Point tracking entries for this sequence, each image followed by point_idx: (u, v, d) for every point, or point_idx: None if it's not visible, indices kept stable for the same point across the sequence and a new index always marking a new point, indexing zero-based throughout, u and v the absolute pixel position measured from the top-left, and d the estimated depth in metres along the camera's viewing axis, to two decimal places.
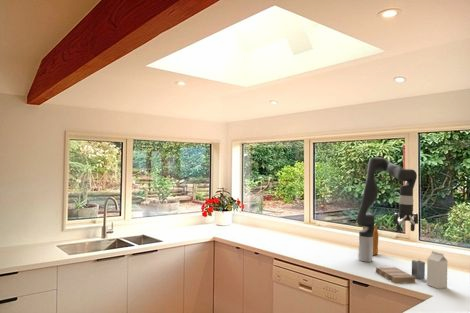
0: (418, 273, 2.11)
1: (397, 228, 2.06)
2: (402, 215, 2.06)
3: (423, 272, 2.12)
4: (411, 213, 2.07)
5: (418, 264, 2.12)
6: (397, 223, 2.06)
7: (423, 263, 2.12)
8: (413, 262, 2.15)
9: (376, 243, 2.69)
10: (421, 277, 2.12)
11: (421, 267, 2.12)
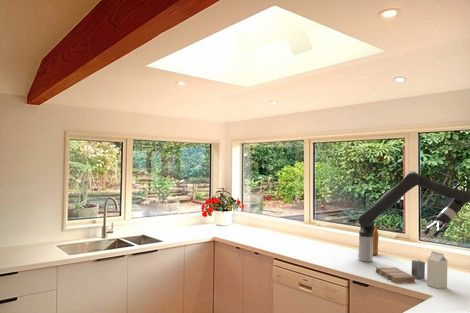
0: (418, 273, 2.11)
1: (436, 234, 2.17)
2: None
3: (423, 272, 2.12)
4: None
5: (418, 264, 2.12)
6: (440, 232, 2.17)
7: (423, 263, 2.12)
8: (413, 262, 2.15)
9: (376, 243, 2.69)
10: (421, 277, 2.12)
11: (421, 267, 2.12)
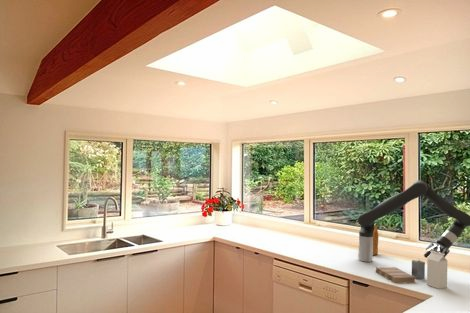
0: (418, 273, 2.11)
1: None
2: None
3: (423, 272, 2.12)
4: None
5: (418, 264, 2.12)
6: None
7: (423, 263, 2.12)
8: (413, 262, 2.15)
9: (376, 243, 2.69)
10: (421, 277, 2.12)
11: (421, 267, 2.12)
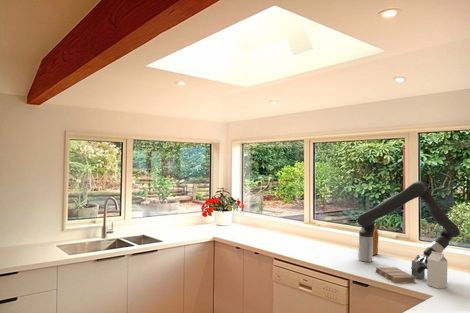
0: (418, 273, 2.12)
1: None
2: None
3: (423, 272, 2.12)
4: None
5: (418, 264, 2.12)
6: None
7: None
8: (413, 262, 2.15)
9: (376, 243, 2.69)
10: (421, 277, 2.12)
11: None
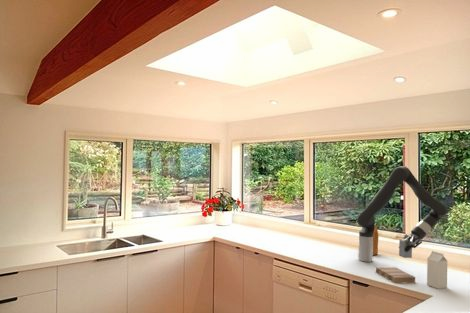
0: (405, 252, 2.12)
1: (407, 249, 2.11)
2: None
3: (410, 251, 2.13)
4: None
5: (405, 243, 2.12)
6: None
7: None
8: (401, 241, 2.15)
9: (376, 243, 2.69)
10: (408, 256, 2.12)
11: None
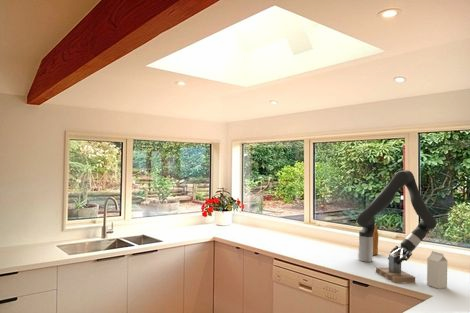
0: (395, 267, 2.12)
1: (399, 262, 2.09)
2: None
3: (400, 266, 2.12)
4: None
5: (395, 258, 2.12)
6: (404, 259, 2.09)
7: None
8: (390, 256, 2.15)
9: (376, 243, 2.69)
10: (398, 271, 2.12)
11: None
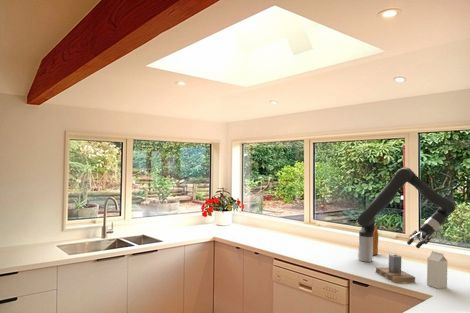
0: (395, 267, 2.12)
1: (419, 245, 2.11)
2: None
3: (400, 266, 2.12)
4: None
5: (395, 258, 2.12)
6: None
7: (400, 257, 2.12)
8: (390, 256, 2.15)
9: (376, 243, 2.69)
10: (398, 271, 2.12)
11: (398, 261, 2.12)
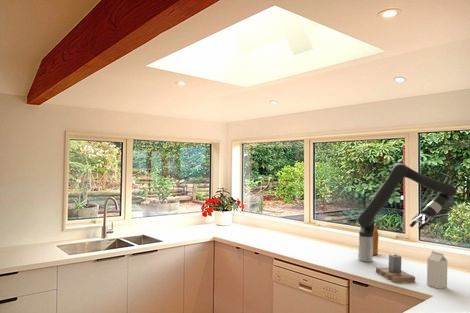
0: (395, 267, 2.12)
1: (421, 227, 2.19)
2: None
3: (400, 266, 2.12)
4: None
5: (395, 258, 2.12)
6: (426, 224, 2.19)
7: (400, 257, 2.12)
8: (390, 256, 2.15)
9: (376, 243, 2.69)
10: (398, 271, 2.12)
11: (398, 261, 2.12)
